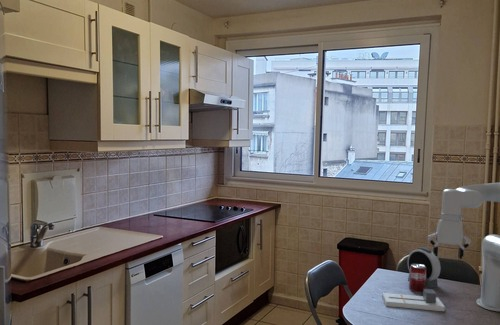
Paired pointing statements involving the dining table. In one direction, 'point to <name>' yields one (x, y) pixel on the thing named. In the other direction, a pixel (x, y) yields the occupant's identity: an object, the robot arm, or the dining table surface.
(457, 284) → the dining table surface
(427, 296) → the fader knob
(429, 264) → the alarm clock
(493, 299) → the robot arm
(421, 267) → the soda can
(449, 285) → the dining table surface
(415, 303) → the console
